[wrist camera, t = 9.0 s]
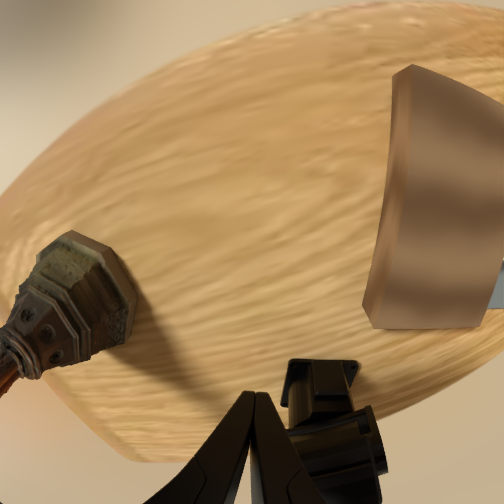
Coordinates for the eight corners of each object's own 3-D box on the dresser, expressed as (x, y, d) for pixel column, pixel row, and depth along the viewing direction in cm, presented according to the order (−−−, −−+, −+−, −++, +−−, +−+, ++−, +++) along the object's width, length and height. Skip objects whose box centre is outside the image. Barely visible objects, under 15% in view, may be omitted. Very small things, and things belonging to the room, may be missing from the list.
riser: (461, 307, 21) (479, 326, 18) (361, 304, 22) (373, 328, 18) (495, 116, 15) (520, 115, 12) (392, 75, 16) (412, 63, 12)
